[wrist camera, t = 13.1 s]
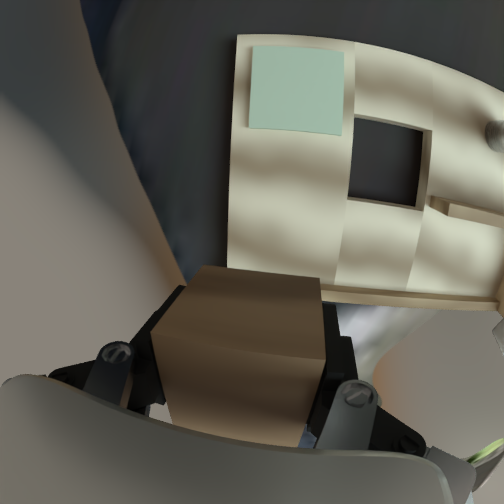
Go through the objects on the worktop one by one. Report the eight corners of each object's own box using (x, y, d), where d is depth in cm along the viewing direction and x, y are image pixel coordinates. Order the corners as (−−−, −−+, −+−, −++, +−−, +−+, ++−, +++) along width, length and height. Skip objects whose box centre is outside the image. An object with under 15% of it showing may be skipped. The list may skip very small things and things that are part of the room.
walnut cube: (203, 264, 12) (150, 332, 8) (319, 277, 12) (325, 359, 7) (207, 350, 14) (173, 424, 9) (302, 364, 13) (297, 447, 9)
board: (242, 42, 20) (227, 18, 15) (520, 109, 15) (550, 108, 10) (231, 273, 27) (216, 302, 22) (489, 297, 23) (512, 321, 18)
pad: (254, 49, 18) (253, 45, 17) (342, 55, 17) (344, 52, 16) (250, 128, 21) (248, 127, 20) (340, 136, 20) (341, 135, 19)
